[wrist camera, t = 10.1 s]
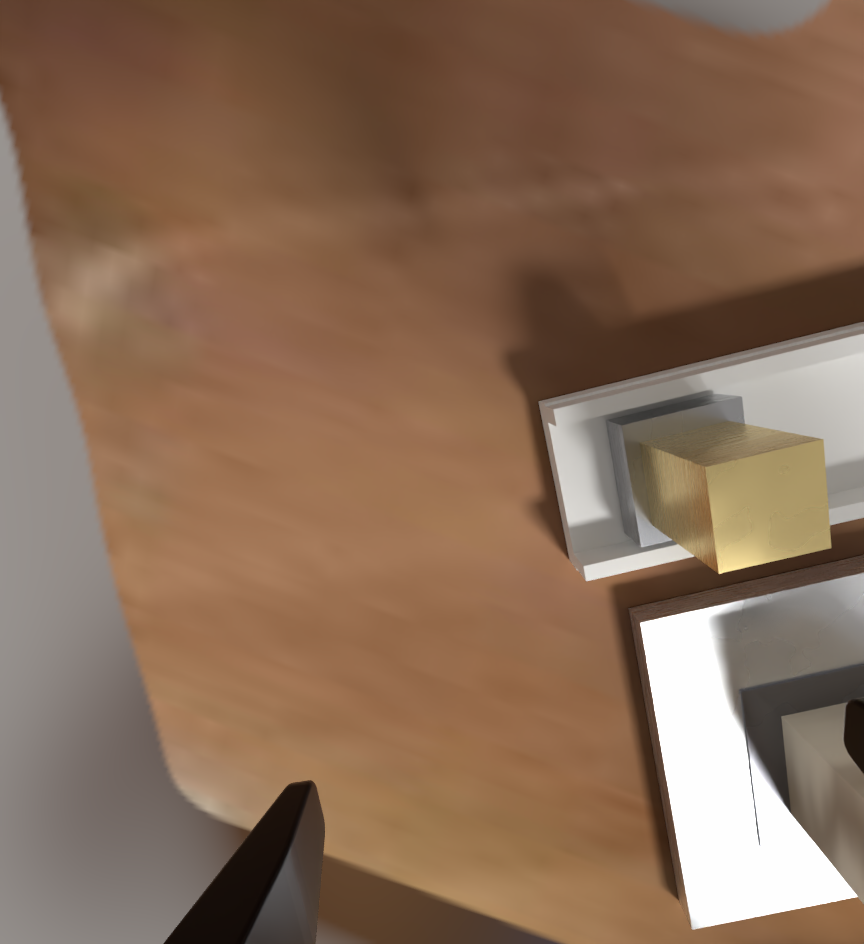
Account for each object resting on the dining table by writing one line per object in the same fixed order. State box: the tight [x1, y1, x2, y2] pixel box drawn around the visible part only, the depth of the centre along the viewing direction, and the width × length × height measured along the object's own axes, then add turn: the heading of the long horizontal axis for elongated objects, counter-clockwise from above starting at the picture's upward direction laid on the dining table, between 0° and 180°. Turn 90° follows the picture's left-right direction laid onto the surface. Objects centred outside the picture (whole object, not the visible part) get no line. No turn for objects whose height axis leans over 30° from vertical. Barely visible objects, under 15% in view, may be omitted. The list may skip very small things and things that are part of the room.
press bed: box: [628, 555, 864, 930], centre depth 21 cm, size 16×16×1 cm
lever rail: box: [538, 322, 864, 581], centre depth 18 cm, size 7×14×2 cm, turn 104°
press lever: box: [605, 394, 831, 574], centre depth 16 cm, size 4×4×6 cm
